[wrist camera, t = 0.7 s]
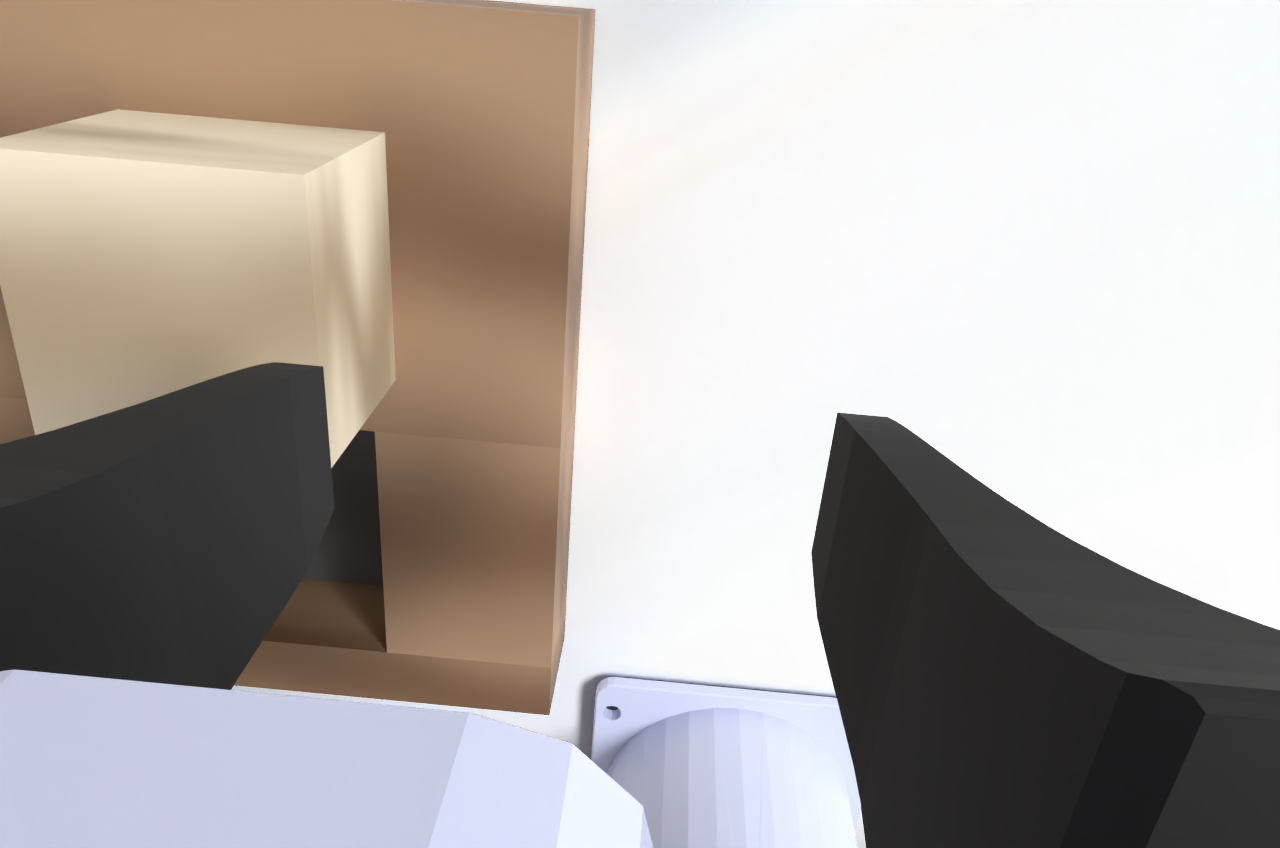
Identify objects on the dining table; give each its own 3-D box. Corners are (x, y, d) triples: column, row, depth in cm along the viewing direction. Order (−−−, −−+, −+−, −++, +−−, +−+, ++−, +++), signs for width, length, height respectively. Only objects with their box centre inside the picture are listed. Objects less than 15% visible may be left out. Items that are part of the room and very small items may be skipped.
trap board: (564, 637, 26) (549, 715, 23) (-285, 557, 26) (-397, 624, 24) (595, 9, 19) (578, 16, 16) (-563, -89, 19) (-767, -98, 17)
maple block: (395, 379, 20) (328, 472, 16) (158, 358, 20) (37, 446, 16) (385, 132, 17) (304, 175, 14) (118, 108, 17) (-32, 145, 14)
